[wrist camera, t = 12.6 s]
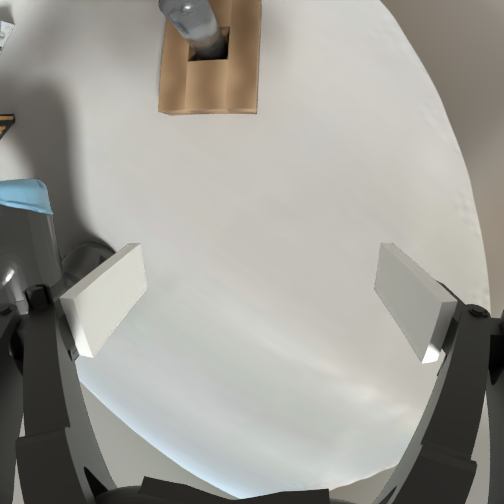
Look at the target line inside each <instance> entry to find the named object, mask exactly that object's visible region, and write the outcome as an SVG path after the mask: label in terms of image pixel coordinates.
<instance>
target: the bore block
mask: <svg viewBox="0 0 504 504" xmlns="http://www.w3.org/2000/svg"><path fill="white" fill-rule="evenodd" d="M208 2H209V5H210V7H211V9H212V11H213V14H214V16H215V18H216V20H217V23H218V25H219V27H220V30H221V32H222V34H223V37H224V39H225V42H226V44H227V46H228V55H227V57H226V58H225V60H203V61H202V60H201V59H200V58H199V56H198V55H197V54H196V53H195V51H194V50H193V49H192V47H191V46H190V45H189V44H188V42H187V41H186V40H185V39H184V38H183V36H182V35H181V34H180V33H179V31H178V30H177V29H176V28H175V27H174V25H173V24H172V23H171V22H170V21H169V19H168V18H167V22H166V29H165V37H164V45H163V54H162V64H161V75H160V88H159V104H158V111H159V112H162V113H165V114H168V115H171V116H172V115H189V114H257V102H258V78H259V55H260V31H261V8H262V4H261V0H208Z"/></svg>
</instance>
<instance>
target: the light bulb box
mask: <svg viewBox="0 0 504 504" xmlns="http://www.w3.org/2000/svg"><path fill="white" fill-rule="evenodd" d="M14 26H15V25H14V24H10V23H7V22H4V21H1V20H0V53H1V51H2V49H3V47H4V45H5V43H6V41H7V39H8V37H9V35H10V33H11V31H12V29H13V28H14Z"/></svg>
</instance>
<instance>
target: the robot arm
mask: <svg viewBox="0 0 504 504" xmlns="http://www.w3.org/2000/svg"><path fill="white" fill-rule="evenodd" d="M52 215H53V211H52V210H51V206H50V201H49V196H48V190H47V187H46V185H45V184H44V183H43V182H42V181H40V180H38V179H17V180H6V181H0V504H12V501H13V491H14V477H15V465H16V459H17V466H18V473H19V479H20V485H21V490H22V495H23V500H24V504H355V503H351V502H348V501H344V500H339V499H331V498H329V489H319V490H306V491H284V492H278V493H273V494H268V495H263V496H258V497H252V498H246V499H239V500H229V499H226V498H222V497H219V496H216V495H213V494H210V493H207V492H204V491H201V490H199V489H196V488H193V487H191V486H188V485H184V484H179V483H173V482H168V481H163V480H159V479H154V478H150V477H146V476H144V479H143V482H142V485H141V486H127V487H121V488H117V486H116V485H115V483H114V482H113V480H112V478H111V476H110V474H109V471H108V469H107V466H106V464H105V462H104V459H103V457H102V454H101V452H100V449H99V446H98V443H97V440H96V438H95V435H94V432H93V429H92V426H91V423H90V419H89V416H88V413H87V410H86V406H85V403H84V399H83V395H82V391H81V388H80V384H79V379H78V375H77V370H76V366H75V360H76V359H77V357H78V356H79V355H83V356H87V357H92V358H93V357H94V356H95V355H96V353H97V352H98V351H99V349H100V348H101V347H102V345H103V344H104V343H105V341H106V340H107V339H108V338H109V336H110V335H111V334H112V332H113V331H114V330H115V328H116V327H117V326H118V325H119V323H120V322H121V321H122V319H123V318H124V317H125V316H126V314H127V313H128V312H129V311H130V309H131V308H132V307H133V306H134V304H135V303H136V302H137V301H138V299H139V298H140V297H141V296H142V294H143V293H144V292H145V291H146V290H147V288H148V287H147V282H146V276H145V270H144V264H143V257H142V250H141V243H132V244H127V245H126V246H125V247H123V248H122V249H121V250H119V251H118V252H117V253H113V252H112V251H111V250H109V249H108V248H106V247H104V246H102V245H100V244H97V243H83V244H80V245H78V246H76V247H75V248H73V249H71V250H70V251H69V252H68V253H67V254H66V255H65V256H64V258H63V260H62V261H61V257H60V253H59V248H58V244H57V239H56V234H55V229H54V223H53V216H52ZM374 290H375V291H376V293H377V294H378V296H379V297H380V299H381V300H382V302H383V303H384V305H385V306H386V308H387V309H388V311H389V312H390V314H391V315H392V317H393V318H394V320H395V321H396V323H397V324H398V326H399V327H400V329H401V331H402V332H403V334H404V335H405V337H406V338H407V340H408V342H409V343H410V345H411V347H412V348H413V350H414V351H415V353H416V355H417V356H418V358H419V360H420V361H421V363H428V362H433V361H437V359H438V357H439V354H440V352H441V349H443V351H444V352H445V354H446V355H445V358H444V360H443V363H442V365H441V367H440V370H439V372H438V374H437V376H438V378H437V380H436V383H435V386H434V389H433V391H432V394H431V396H430V399H429V401H428V404H427V406H426V409H425V411H424V413H423V416H422V418H421V420H420V422H419V425H418V427H417V429H416V431H415V433H414V435H413V437H412V439H411V441H410V443H409V445H408V447H407V449H406V451H405V453H404V455H403V457H402V458H401V460H400V462H399V464H398V466H397V468H396V469H395V471H394V473H393V474H392V476H391V478H390V479H389V481H388V483H387V484H386V486H385V487H384V489H383V490H382V492H381V493H380V495H379V496H378V497H377V499H376V500H375V501H374V502H373V504H465V502H466V499H467V497H468V494H469V491H470V488H471V485H472V482H473V479H474V476H475V473H476V468H477V463H476V461H472V460H471V455H472V451H473V448H474V444H475V440H476V436H477V432H478V428H479V423H480V418H481V413H482V408H483V403H484V396H485V390H486V397H487V406H488V415H489V429H490V485H489V496H488V504H504V310H503V313H502V316H501V318H491V316H490V313H489V312H488V311H487V310H486V309H484V308H483V307H481V306H478V305H474V304H467V305H465V304H464V303H463V302H462V301H461V300H460V299H459V298H458V297H457V296H456V295H454V293H453V292H452V291H450V290H449V289H448V288H447V287H446V286H445V285H444V284H442V283H440V282H439V281H437V280H435V279H434V278H433V277H432V276H430V275H429V274H428V273H427V272H426V271H425V270H424V269H423V268H421V267H420V266H419V265H418V264H417V263H416V262H415V261H413V260H412V259H411V258H410V257H409V256H408V255H406V254H405V253H404V252H403V251H402V250H400V249H399V248H398V247H397V246H396V245H394V244H393V243H381V245H380V253H379V260H378V268H377V274H376V281H375V287H374ZM23 412H24V426H25V436H24V437H19V434H20V428H21V422H22V417H23Z"/></svg>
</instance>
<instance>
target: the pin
mask: <svg viewBox="0 0 504 504" xmlns="http://www.w3.org/2000/svg"><path fill="white" fill-rule="evenodd" d="M159 8H160V10H161V11H162V12H163V14H164V15H165V16H166V17H167V18H168V19H169V21H170V22H171V23H172V24H173V25H174V27H175V28H176V29H177V30H178V31H179V33H180V34H181V35H182V36H183V38H184V39H185V40H186V41H187V42H188V44H189V45H190V46H191V47H192V49H193V50H194V51H195V53H196V54H197V55H198V56H199V58H200V59H201V60H202V61H203V60H225V58H226V57H227V55H228V46H227V44H226V42H225V39H224V37H223V34H222V32H221V30H220V27H219V25H218V23H217V20H216V18H215V16H214V14H213V11H212V9H211V7H210V5H209V2H208V0H159Z"/></svg>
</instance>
